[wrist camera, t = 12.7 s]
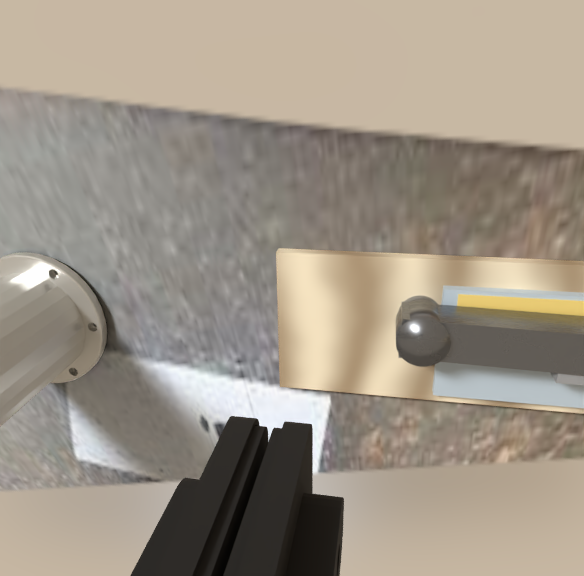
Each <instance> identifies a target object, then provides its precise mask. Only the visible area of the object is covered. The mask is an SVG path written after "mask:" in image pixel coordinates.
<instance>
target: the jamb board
mask: <svg viewBox="0 0 584 576" xmlns="http://www.w3.org/2000/svg"><path fill="white" fill-rule="evenodd" d="M276 261H277V298H278V335H279V372H280V387H290V388H302V389H313V390H324V391H335V392H346V393H357V394H369V395H380V396H391V397H402V398H413V399H425V400H436V401H447V402H458V403H469V404H481V405H492V406H503V407H514V408H525V409H537V410H548V411H559V412H570V413H581V414H584V408H573V407H562V406H550V405H539V404H528V403H516V402H505V401H493V400H482V399H471V398H459V397H448V396H436V395H433V391H432V388H433V378H434V369H435V365H432V366H427V367H420V366H415V365H412V364H410V363H408V362H406V361H405V360H404V359H403V358H398V351H397V348H396V316H397V313H398V311H399V308H400V306H401V302H404V301H405V300H407V299H408V298H410V297H413V296H427V297H430V298H432V299H433V300H435V301H436V302H437V303H438V304H439V305H441V303H442V293H443V285H445V286H465V287H484V288H503V289H523V290H542V291H561V292H581V293H584V261H569V260H546V259H522V258H498V257H474V256H450V255H426V254H402V253H379V252H355V251H331V250H307V249H283V248H279V249H278V250H277V252H276Z"/></svg>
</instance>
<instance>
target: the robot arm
mask: <svg viewBox="0 0 584 576" xmlns="http://www.w3.org/2000/svg"><path fill="white" fill-rule="evenodd" d="M106 339H107V328H106V320H105V317H104V313H103V310H102V307H101V305H100V303H99V301H98V299H97V297H96V295H95V294H94V293H93V291H92V290H91V289H90V287H89V286H88V284H87V283H86V282H85V281H84V280H83V279H82V278H81V277H80V276H79V275H78V274H77V273H75V272H74V271H73V270H71V269H70V268H69V267H67V266H66V265H64V264H63V263H61V262H59V261H57V260H55V259H53V258H50V257H47V256H44V255H41V254H36V253H29V252H22V253H13V254H10V255H6V256H3V257H1V258H0V427H1V426H2V425H3V424H4V423H5V422H6V421H7V420H8V419H10V418H11V417H12V416H13V415H14V414H15V413H16V412H17V411H19V410H20V409H21V408H22V407H23V406H24V405H25V404H27V403H28V402H29V401H30V400H31V399H32V398H33V397H34V396H36V395H37V394H38V393H39V392H40V391H41V390H42V389H43V388H45V387H46V386H47V385H48V384H49V383H64V382H69V381H73V380H75V379H78V378H80V377H82V376H83V375H85V374H86V373H87V372H89V371H90V370H91V369H92V368H93V367H94V366H95V365H96V364H97V363H98V361H99V359H100V358H101V356H102V354H103V352H104V349H105V346H106ZM343 510H344V499H343V498H342V497H334V496H326V495H317V494H312V425H311V424H305V423H295V422H284V424H283V427H282V429H281V428H274V429H273V431H272V434H271V437H270V439H269V442H268V430H267V427H262V426H259V421H258V419H255V418H245V417H235V416H231V417H230V418H229V420H228V421H227V423H226V426H225V428H224V430H223V432H222V434H221V436H220V438H219V440H218V442H217V444H216V446H215V448H214V451H213V453H212V455H211V457H210V459H209V461H208V463H207V465H206V467H205V469H204V471H203V473H202V476H201V478H200V480H198V479H190V478H184V479H183V480H182V481H181V482H180V483H179V485H178V486H177V488H176V490H175V492H174V494H173V496H172V498H171V500H170V502H169V504H168V505H167V507H166V509H165V511H164V513H163V515H162V517H161V519H160V521H159V522H158V524H157V526H156V528H155V530H154V532H153V534H152V536H151V538H150V540H149V542H148V543H147V545H146V547H145V549H144V551H143V553H142V555H141V557H140V559H139V561H138V563H137V565H136V566H135V568H134V570H133V572H132V574H131V576H339V574H340V563H341V550H342V536H343Z"/></svg>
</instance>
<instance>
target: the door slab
mask: <svg viewBox="0 0 584 576" xmlns="http://www.w3.org/2000/svg"><path fill="white" fill-rule="evenodd" d="M441 305H452V306H464V307H477V308H489V309H502V310H514V311H527V312H540V313H552V314H565V315H577V316H584V293H581V292H561V291H542V290H523V289H503V288H484V287H465V286H445V285H443V293H442V303H441ZM432 391H433V395H436V396H448V397H459V398H471V399H482V400H493V401H505V402H516V403H528V404H539V405H550V406H562V407H573V408H584V376H581V375H571V374H560V373H550V372H540V371H529V370H519V369H509V368H499V367H488V366H478V365H468V364H457V363H447V362H439V363H437V364H435V369H434V378H433V388H432Z"/></svg>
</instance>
